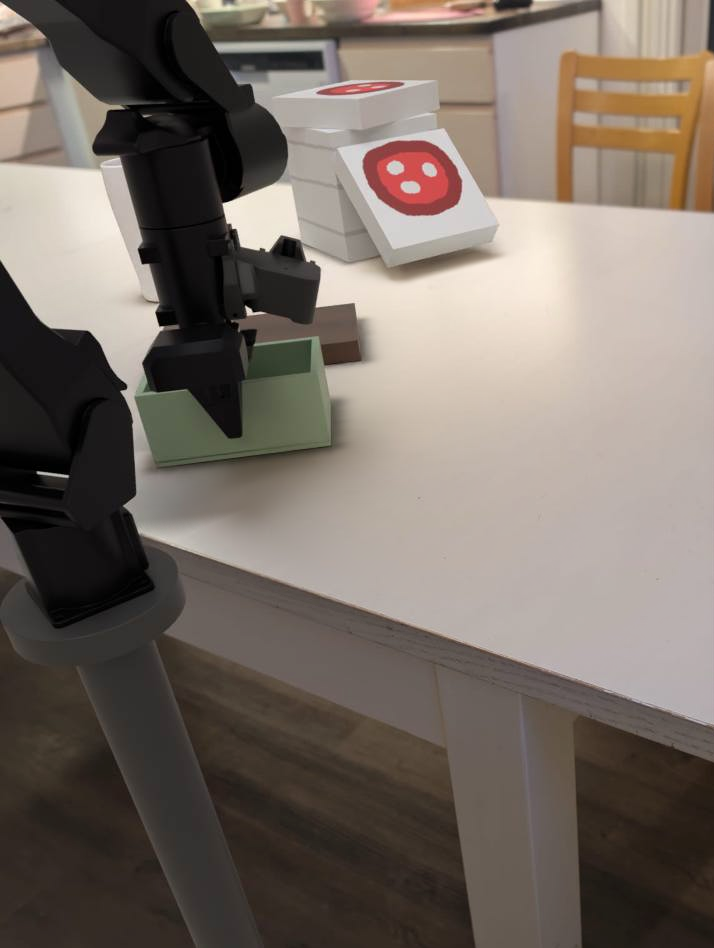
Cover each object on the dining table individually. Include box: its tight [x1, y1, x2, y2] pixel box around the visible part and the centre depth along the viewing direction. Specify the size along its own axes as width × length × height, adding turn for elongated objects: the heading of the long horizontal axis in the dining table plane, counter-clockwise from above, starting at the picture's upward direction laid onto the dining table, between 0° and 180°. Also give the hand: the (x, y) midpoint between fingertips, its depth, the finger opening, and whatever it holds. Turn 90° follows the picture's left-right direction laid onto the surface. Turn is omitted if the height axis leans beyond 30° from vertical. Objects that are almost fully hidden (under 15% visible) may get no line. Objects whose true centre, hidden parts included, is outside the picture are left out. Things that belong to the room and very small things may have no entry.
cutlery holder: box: [133, 336, 332, 469], centre depth 77 cm, size 9×14×6 cm, turn 97°
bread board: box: [161, 302, 362, 366], centre depth 94 cm, size 12×20×2 cm, turn 98°
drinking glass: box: [99, 157, 159, 303], centre depth 109 cm, size 7×7×15 cm
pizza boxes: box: [270, 79, 500, 268], centre depth 119 cm, size 19×30×18 cm, turn 33°
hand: (235, 437), depth 72 cm, fingers closed
